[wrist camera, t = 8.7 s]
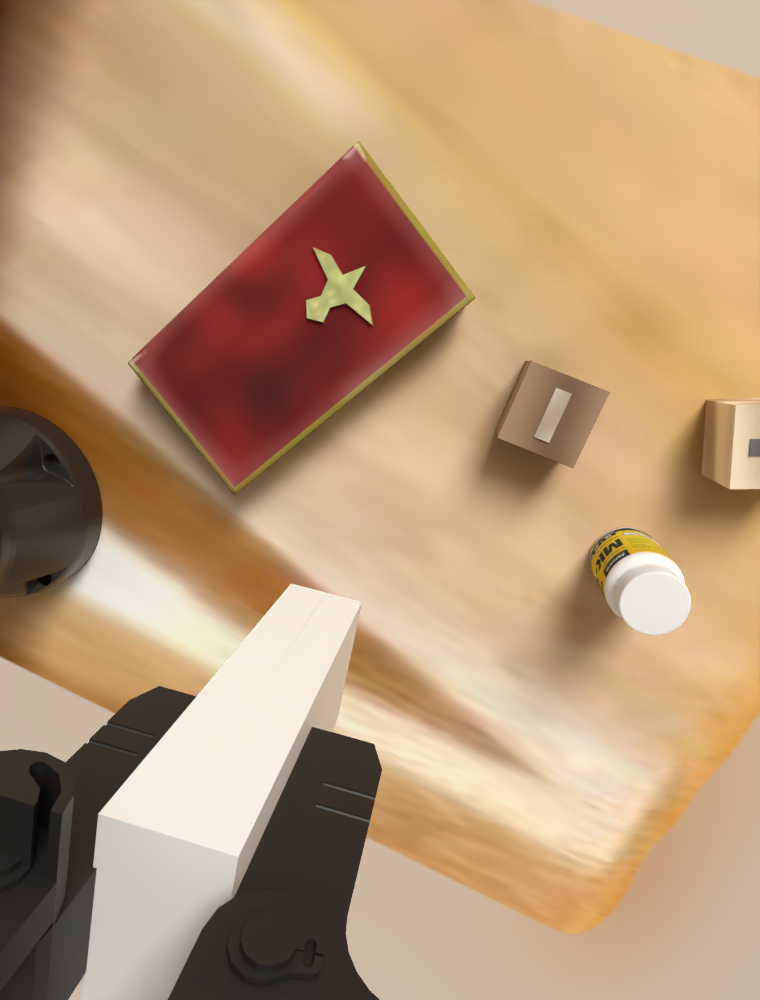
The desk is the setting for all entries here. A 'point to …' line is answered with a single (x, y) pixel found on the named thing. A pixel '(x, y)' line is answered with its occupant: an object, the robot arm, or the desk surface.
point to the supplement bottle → (640, 581)
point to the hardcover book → (301, 321)
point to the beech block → (732, 442)
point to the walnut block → (550, 413)
